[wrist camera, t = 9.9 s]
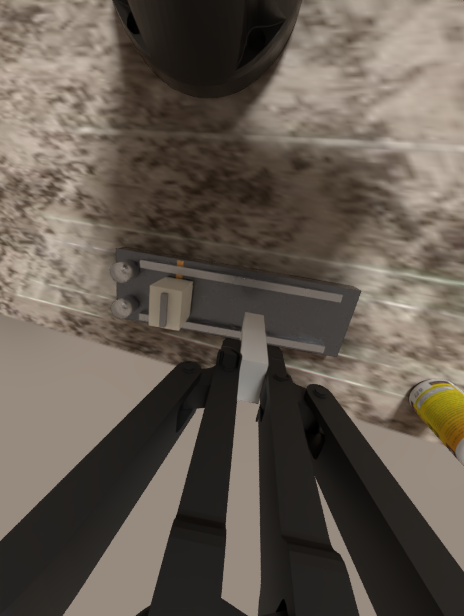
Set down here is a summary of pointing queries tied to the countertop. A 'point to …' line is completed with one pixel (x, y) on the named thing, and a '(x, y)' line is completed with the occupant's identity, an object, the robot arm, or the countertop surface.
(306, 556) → the robot arm
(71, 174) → the countertop surface
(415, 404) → the supplement bottle
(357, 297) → the console
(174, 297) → the fader tab
